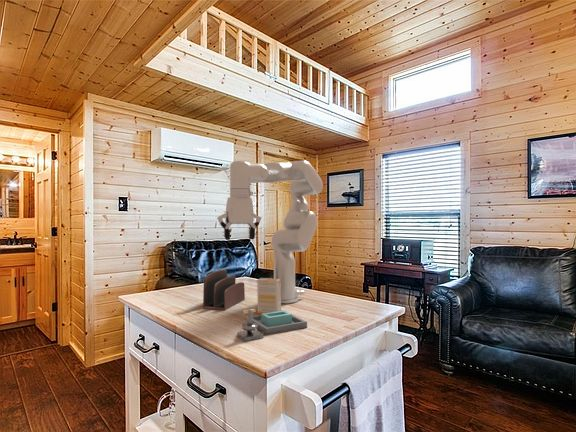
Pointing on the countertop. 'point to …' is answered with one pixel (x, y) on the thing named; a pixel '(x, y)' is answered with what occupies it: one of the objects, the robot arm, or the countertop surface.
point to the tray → (295, 324)
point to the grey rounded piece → (249, 328)
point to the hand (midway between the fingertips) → (239, 239)
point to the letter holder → (221, 291)
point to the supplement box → (269, 295)
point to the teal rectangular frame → (276, 318)
